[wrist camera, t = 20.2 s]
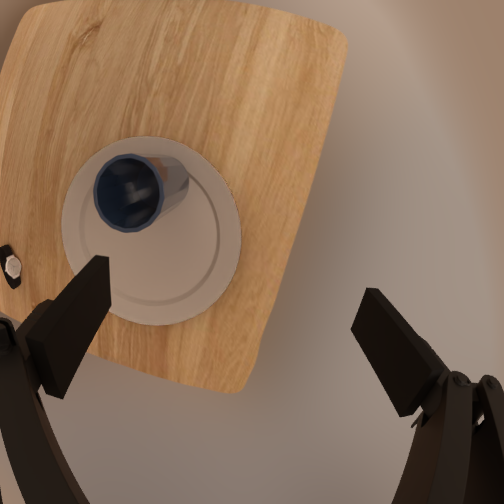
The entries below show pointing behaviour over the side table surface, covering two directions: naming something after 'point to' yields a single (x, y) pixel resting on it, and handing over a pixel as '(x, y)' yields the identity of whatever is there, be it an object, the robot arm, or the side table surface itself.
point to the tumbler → (139, 190)
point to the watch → (10, 266)
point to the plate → (158, 239)
